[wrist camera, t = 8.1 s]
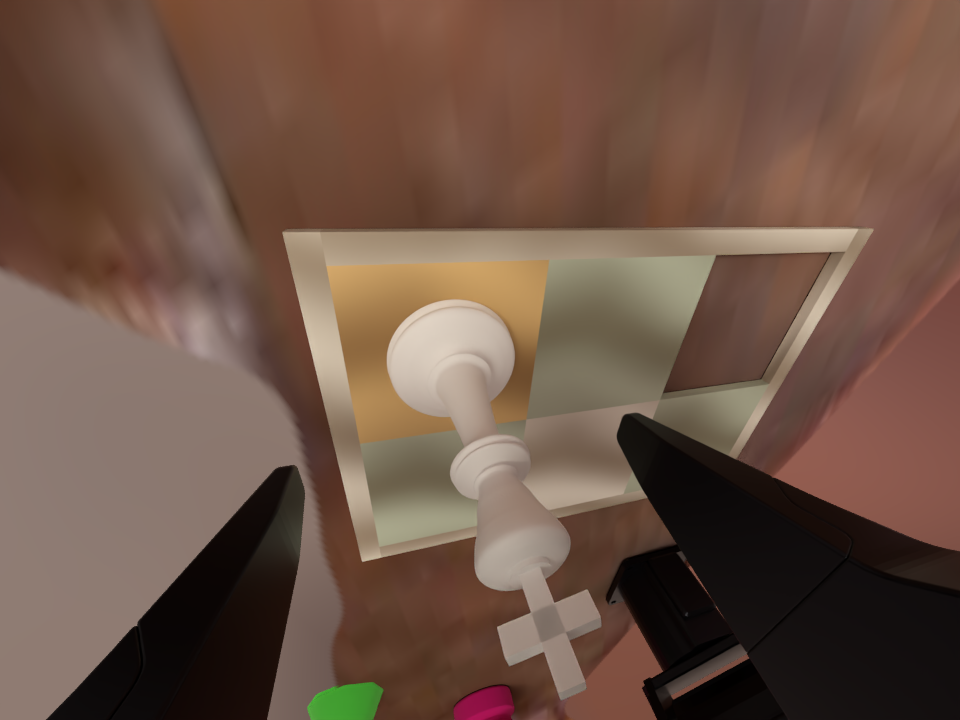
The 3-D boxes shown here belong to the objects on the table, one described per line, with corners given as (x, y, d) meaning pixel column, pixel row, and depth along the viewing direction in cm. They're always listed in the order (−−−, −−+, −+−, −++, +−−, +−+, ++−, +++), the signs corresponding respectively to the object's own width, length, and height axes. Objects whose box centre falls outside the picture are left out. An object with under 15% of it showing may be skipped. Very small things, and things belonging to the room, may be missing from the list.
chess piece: (364, 324, 12) (339, 727, 4) (498, 281, 12) (751, 550, 4) (412, 423, 15) (459, 780, 6) (520, 385, 15) (696, 672, 7)
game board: (717, 475, 25) (723, 480, 24) (362, 552, 19) (362, 561, 19) (861, 226, 16) (873, 228, 16) (286, 228, 10) (282, 232, 10)
